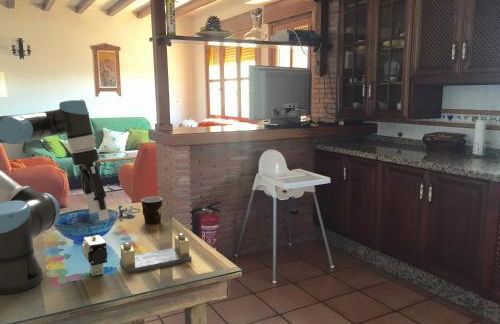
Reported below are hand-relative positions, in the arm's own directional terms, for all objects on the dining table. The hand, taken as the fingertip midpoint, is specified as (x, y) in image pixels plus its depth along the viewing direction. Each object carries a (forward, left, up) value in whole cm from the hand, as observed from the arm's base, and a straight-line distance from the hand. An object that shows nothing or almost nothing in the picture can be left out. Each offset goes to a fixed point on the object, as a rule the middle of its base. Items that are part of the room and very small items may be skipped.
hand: (99, 216), depth 135 cm
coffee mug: (+25, +35, -17) cm, 46 cm away
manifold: (+16, -5, -17) cm, 24 cm away
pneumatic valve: (-3, -5, -17) cm, 18 cm away
